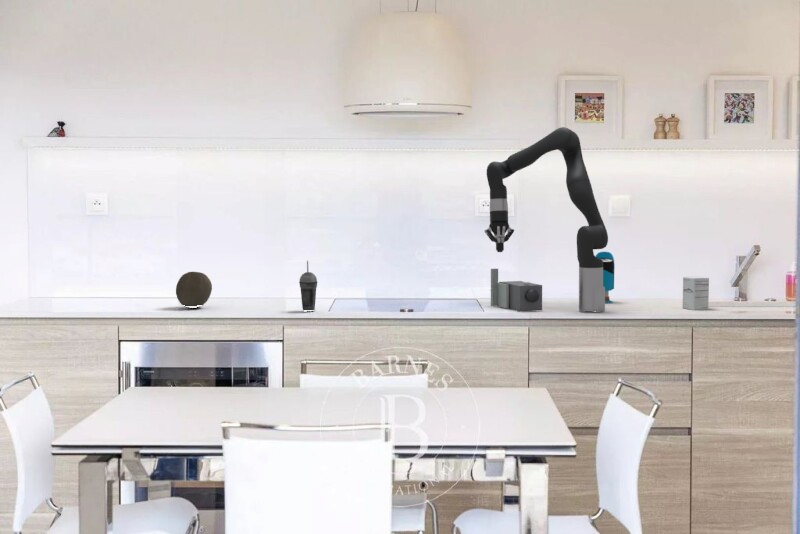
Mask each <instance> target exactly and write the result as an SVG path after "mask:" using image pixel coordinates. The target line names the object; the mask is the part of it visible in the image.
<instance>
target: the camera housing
mask: <svg viewBox="0 0 800 534" xmlns="http://www.w3.org/2000/svg"><path fill="white" fill-rule="evenodd" d="M498 283H503V284H507V285H509V308H507V309H508V310H513V311H516V310H517V312H520V311H521V312H533V311H532V310H542V311H543V285H542V284H538V283H534V282H533V283H532V282H530V281H522V280H516V281H515V280H513V281H498Z"/></svg>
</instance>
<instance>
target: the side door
mask: <svg viewBox="0 0 800 534" xmlns="http://www.w3.org/2000/svg"><path fill="white" fill-rule="evenodd" d="M490 306H492V307H499V308H504V309H508V308H509V285H507V284H503V283H499V268H490Z"/></svg>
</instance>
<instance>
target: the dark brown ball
mask: <svg viewBox="0 0 800 534" xmlns="http://www.w3.org/2000/svg"><path fill="white" fill-rule="evenodd" d="M212 289H213V285H212V281H211V279H210V278H209V276H208V275H206V274H205V273H203V272H198V271H187V272H186V273H184V274H182V275H181V276H180V278H179V279H178V281H177V284H176V287H175V295H176V299H177V300H178V302H179V303H180V304H181V306H183V305H185V306H197V305H202V306H204V305H205V304H206V303H207V302H208V301H209V298H210V296H211V294H212V291H213V290H212ZM185 306H184V307H185Z"/></svg>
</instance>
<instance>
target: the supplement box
mask: <svg viewBox="0 0 800 534" xmlns="http://www.w3.org/2000/svg"><path fill="white" fill-rule="evenodd" d="M709 295H710V277H704V276H697V275H695V276H683V277H682V308H683V309H687V310H692V311H702V310H703V311H704V310H705V311H706V310H709V302H710V301H709V299H710V298H709V297H710V296H709Z"/></svg>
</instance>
